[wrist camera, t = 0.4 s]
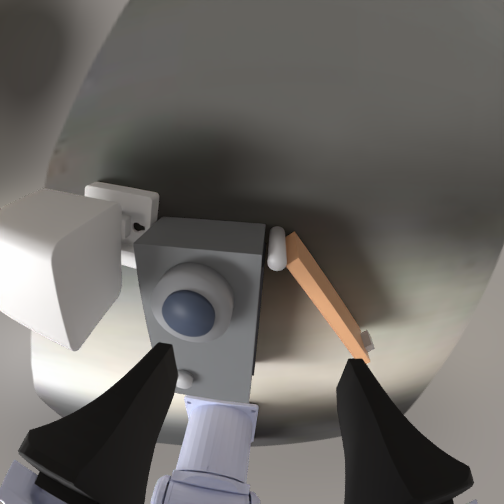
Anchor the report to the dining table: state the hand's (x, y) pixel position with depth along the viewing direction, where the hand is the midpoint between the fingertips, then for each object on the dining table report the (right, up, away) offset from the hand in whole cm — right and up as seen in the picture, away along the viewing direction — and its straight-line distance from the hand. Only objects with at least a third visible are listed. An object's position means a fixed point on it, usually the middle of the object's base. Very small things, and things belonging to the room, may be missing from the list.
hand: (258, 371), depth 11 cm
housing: (-3, +1, +10) cm, 11 cm away
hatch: (+5, +3, +9) cm, 10 cm away
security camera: (-10, +7, +8) cm, 15 cm away
